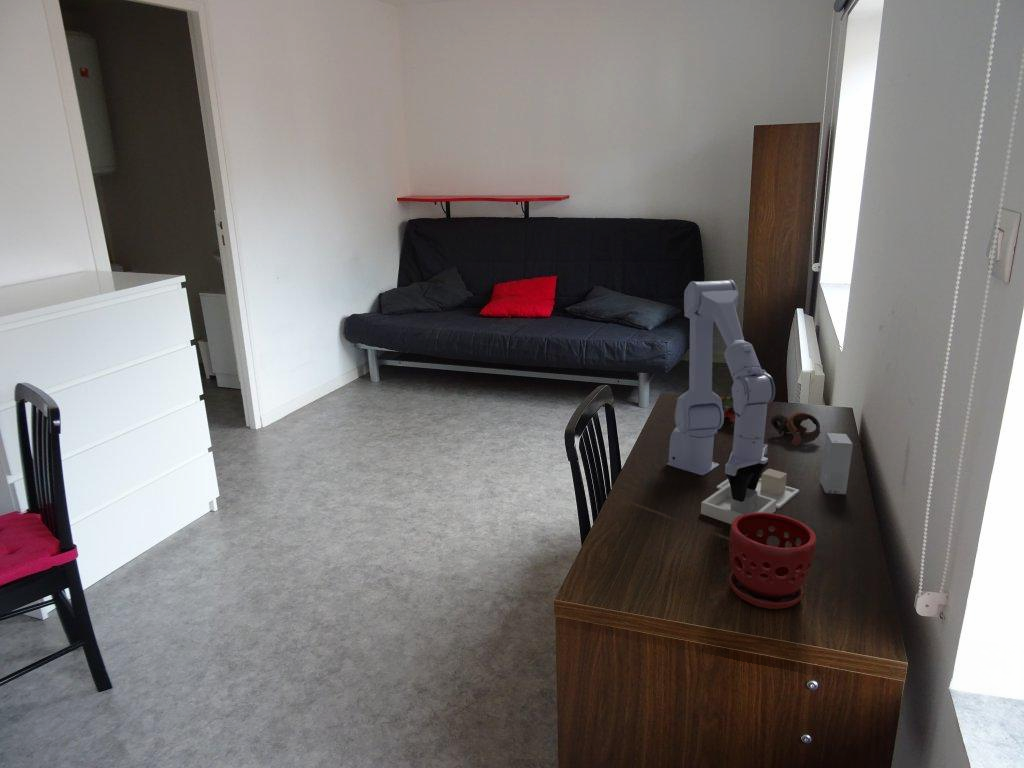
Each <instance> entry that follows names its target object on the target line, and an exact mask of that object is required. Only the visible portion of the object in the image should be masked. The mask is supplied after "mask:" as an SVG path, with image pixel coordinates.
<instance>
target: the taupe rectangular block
mask: <svg viewBox="0 0 1024 768" xmlns="http://www.w3.org/2000/svg"><path fill="white" fill-rule="evenodd" d="M787 476H788V474H787V473H786V472H783V471H780V470H775V469H772V468H767V469H766V470H765V471H763V472H762V474H761V489H760V490H761V491H764V492H767V493H770V494H774V495H777V496H779V495H780V494H782V493H783V492H784V491H785V488H786V486H787V485H786V484H787Z"/></svg>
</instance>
